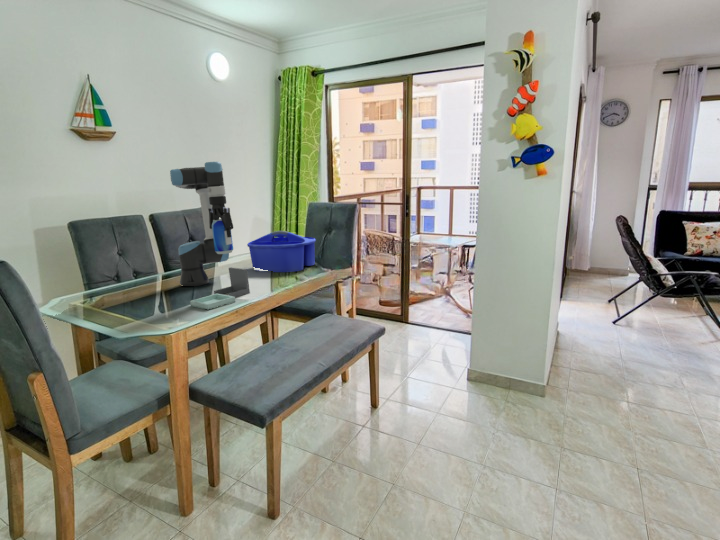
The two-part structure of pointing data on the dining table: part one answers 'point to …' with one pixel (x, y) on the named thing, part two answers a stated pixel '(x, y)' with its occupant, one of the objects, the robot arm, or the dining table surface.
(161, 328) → the dining table surface
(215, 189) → the robot arm
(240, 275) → the bay
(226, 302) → the tray
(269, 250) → the caddy
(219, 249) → the beer can
